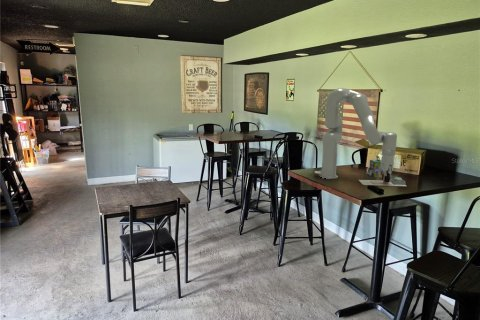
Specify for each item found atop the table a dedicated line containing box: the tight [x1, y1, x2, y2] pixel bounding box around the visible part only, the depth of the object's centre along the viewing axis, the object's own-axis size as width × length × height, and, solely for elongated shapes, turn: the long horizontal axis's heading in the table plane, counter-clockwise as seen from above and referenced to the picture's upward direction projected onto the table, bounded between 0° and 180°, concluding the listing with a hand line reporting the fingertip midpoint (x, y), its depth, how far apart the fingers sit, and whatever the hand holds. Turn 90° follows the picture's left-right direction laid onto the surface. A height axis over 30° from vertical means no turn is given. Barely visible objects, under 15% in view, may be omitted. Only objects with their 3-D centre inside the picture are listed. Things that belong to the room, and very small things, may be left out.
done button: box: [393, 176, 403, 182], centre depth 206 cm, size 4×4×2 cm
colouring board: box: [358, 178, 407, 187], centre depth 207 cm, size 26×12×3 cm, turn 84°
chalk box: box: [368, 155, 383, 179], centre depth 224 cm, size 9×9×15 cm
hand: (385, 181), depth 205 cm, fingers closed on rust marker, 3 cm apart
